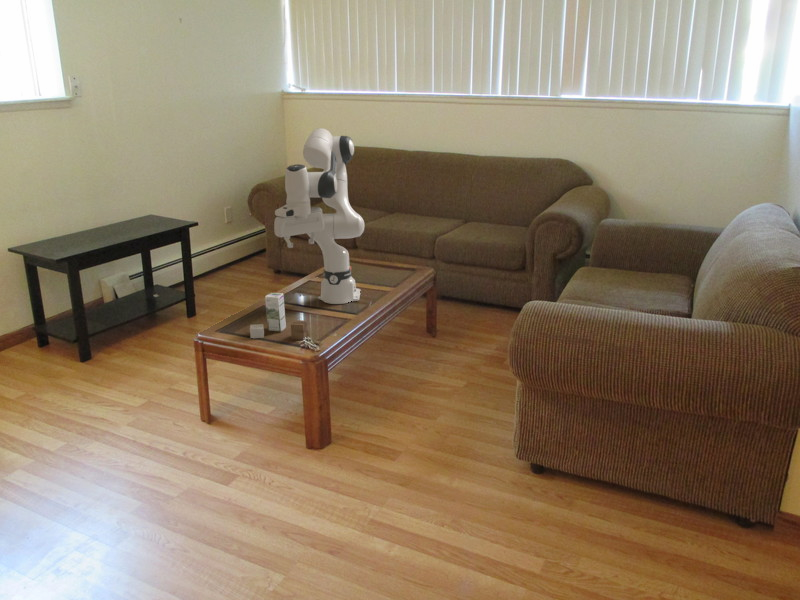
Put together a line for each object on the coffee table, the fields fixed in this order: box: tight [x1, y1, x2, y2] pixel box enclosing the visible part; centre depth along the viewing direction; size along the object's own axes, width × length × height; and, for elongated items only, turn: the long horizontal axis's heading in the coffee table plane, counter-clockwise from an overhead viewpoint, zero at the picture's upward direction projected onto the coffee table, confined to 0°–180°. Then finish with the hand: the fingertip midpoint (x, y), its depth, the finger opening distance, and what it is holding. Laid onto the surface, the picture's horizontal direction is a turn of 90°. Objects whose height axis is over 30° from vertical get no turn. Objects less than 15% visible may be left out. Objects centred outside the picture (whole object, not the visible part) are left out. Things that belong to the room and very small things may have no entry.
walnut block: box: [290, 319, 309, 341], centre depth 262 cm, size 5×5×6 cm
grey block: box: [249, 323, 265, 339], centre depth 265 cm, size 5×5×4 cm
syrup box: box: [264, 292, 287, 333], centre depth 270 cm, size 6×6×14 cm
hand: (301, 245), depth 259 cm, fingers open, 8 cm apart
